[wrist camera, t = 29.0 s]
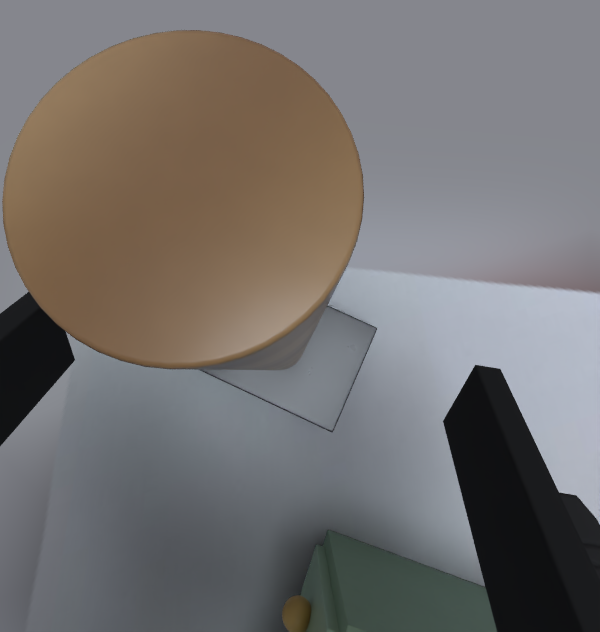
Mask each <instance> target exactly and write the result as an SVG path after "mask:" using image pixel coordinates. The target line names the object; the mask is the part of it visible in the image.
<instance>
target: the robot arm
mask: <svg viewBox="0 0 600 632" xmlns="http://www.w3.org/2000/svg"><path fill="white" fill-rule="evenodd" d="M74 361H75V359H74V356H73V353H72V350H71V347H70V344H69V341H68V338H67V335H66V332H65V330H63V329H62V328H61V327H59V326H58V325H57V324H56V323H55V322H54V321H53V320H52V319H51V318H50V317H49V316H48V315H47V314H46V313H45V312H44V311H43V310H42V309H41V307H40V306H39V305H38V303H37V302H36V301H35V299H34V298H33V296H32V295H31V294H30V292H28V293H27V294H25V295H24V296H23V297H21V298H20V299H19V300H18V301H16V302H15V303H14V304H12V305H11V306H10V307H9V308H7V309H6V310H5V311H3V312H2V313H1V314H0V446H1V444H3V442H4V441H5V440H6V439H7V437H9V435H10V434H11V433H12V432H13V431H14V430H15V429H16V427H17V426H18V425H19V424H20V423H21V422H22V420H23V419H24V418H25V417H26V416H27V415H28V414H29V412H30V411H31V410H32V409H33V408H34V407H35V406H36V404H37V403H38V402H39V401H40V400H41V399H42V397H43V396H44V395H45V394H46V393H47V392H48V391H49V389H50V388H51V387H52V386H53V385H54V383H56V381H57V380H58V379H59V378H60V377H61V376H62V374H63V373H64V372H65V371H66V370H67V369H68V367H69V366H70V365H71V364H72V363H73V362H74ZM443 422H444V426H445V430H446V434H447V438H448V442H449V446H450V450H451V454H452V458H453V462H454V466H455V469H456V473H457V477H458V481H459V485H460V489H461V493H462V497H463V501H464V505H465V509H466V512H467V516H468V520H469V524H470V528H471V532H472V536H473V540H474V544H475V548H476V552H477V556H478V559H479V563H480V567H481V571H482V575H483V579H484V583H485V587H486V591H487V595H488V599H489V602H490V606H491V610H492V614H493V618H494V622H495V626H496V630H497V632H600V525H599V523H598V521H597V519H596V518H595V517H594V515H593V514H592V513H591V512H590V511H589V510H588V508H587V507H586V506H585V505H584V504H583V503H582V501H581V500H580V499H579V498H578V497H577V496H576V495H570V494H564V493H559V492H558V490H557V488H556V486H555V483H554V481H553V479H552V477H551V475H550V473H549V471H548V469H547V467H546V464H545V462H544V460H543V458H542V456H541V454H540V452H539V450H538V448H537V445H536V443H535V441H534V439H533V437H532V435H531V433H530V431H529V429H528V426H527V424H526V422H525V420H524V418H523V416H522V414H521V412H520V410H519V407H518V405H517V403H516V401H515V399H514V397H513V395H512V393H511V391H510V388H509V386H508V384H507V382H506V380H505V378H504V376H503V374H502V372H501V369H497V368H491V367H485V366H479V365H475V367H474V368H473V370H472V372H471V374H470V375H469V377H468V379H467V381H466V382H465V384H464V386H463V387H462V389H461V391H460V393H459V394H458V396H457V398H456V400H455V401H454V403H453V405H452V407H451V408H450V410H449V412H448V414H447V415H446V417H445V419H444V421H443Z"/></svg>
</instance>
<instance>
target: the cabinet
mask: <svg viewBox="0 0 600 632" xmlns="http://www.w3.org/2000/svg"><path fill="white" fill-rule="evenodd" d="M282 619H283V623H284V625H285V627H286V629H287V630H288V632H497V630H496V626H495V622H494V618H493V614H492V610H491V606H490V602H489V599H488V595H487V591H486V588H485V587H482V586H479V585H477V584H474V583H471V582H469V581H466V580H463V579H460V578H458V577H455V576H452V575H450V574H447V573H444V572H441V571H439V570H436V569H433V568H431V567H428V566H425V565H422V564H420V563H417V562H414V561H412V560H409V559H406V558H403V557H401V556H398V555H395V554H393V553H390V552H387V551H384V550H382V549H379V548H376V547H374V546H371V545H368V544H365V543H363V542H360V541H357V540H355V539H352V538H349V537H346V536H344V535H341V534H338V533H336V532H333V531H330V530H328V531H327V534H326V537H325V540H324V543H323V546H320V545H317V544H316V546H315V550H314V553H313V556H312V559H311V562H310V565H309V568H308V572H307V575H306V578H305V581H304V584H303V587H302V591H301V594H300V595H295V596H292V597H290V598H289V599H288V600H287V601H286V603H285V604H284V607H283V611H282Z"/></svg>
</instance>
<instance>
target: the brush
mask: <svg viewBox="0 0 600 632" xmlns="http://www.w3.org/2000/svg"><path fill="white" fill-rule="evenodd" d="M363 201H364V190H363V174H362V169H361V164H360V159H359V154H358V151H357V148H356V145H355V142H354V140H353V137H352V134H351V131H350V129H349V128H348V126H347V124H346V122H345V120H344V118H343V116H342V114H341V112H340V110H339V109H338V108H337V106H336V105H335V103H334V102H333V100H332V99H331V98H330V96H329V95H328V93H327V92H325V90H324V89H323V88H322V87H321V86H320V85H319V84H318V82H317V81H315V79H314V78H312V77H311V76H310V75H309V74H308V73H307V72H306V71H304V70H303V69H302V68H301V67H300V66H298V65H297V64H295V63H294V62H292V61H291V60H289V59H288V58H286V57H285V56H283V55H282V54H280V53H278V52H276V51H274V50H272V49H270V48H268V47H266V46H264V45H262V44H259V43H256V42H253V41H250V40H248V39H244V38H242V37H238V36H233V35H228V34H224V33H219V32H210V31H200V30H188V31H187V30H182V31H169V32H162V33H154V34H150V35H145V36H141V37H137V38H133V39H130V40H128V41H125V42H122V43H119V44H117V45H114V46H111V47H109V48H107V49H105V50H104V51H102V52H100V53H98V54H96V55H94V56H92V57H90V58H89V59H87V60H86V61H84V62H83V63H81V64H80V65H78V66H77V67H75V68H74V69H72V70H71V71H70V72H69V73H68V74H66V75H65V76H64V77H63V78H62V79H60V80H59V81H58V82H57V83H56V84H55V85H54V86H53V87H52V88H51V89H50V90H49V91H48V93H47V94H46V95H45V96H44V97H43V98H42V99H41V100H40V102H39V103H38V105H37V106H36V107H35V109H34V110H33V111H32V113H31V114H30V116H29V117H28V119H27V121H26V122H25V124H24V126H23V128H22V130H21V131H20V133H19V135H18V137H17V140H16V142H15V145H14V148H13V150H12V153H11V155H10V158H9V163H8V167H7V171H6V175H5V180H4V191H3V201H2V202H3V223H4V229H5V234H6V239H7V244H8V248H9V251H10V253H11V256H12V259H13V262H14V265H15V268H16V269H17V271H18V273H19V275H20V277H21V279H22V281H23V283H24V285H25V287H26V288H27V289H28V291H29V292H30V294H31V295H32V296H33V298H34V299H35V301H36V302H37V303H38V305H39V306H40V307H41V309H42V310H43V311H44V312H45V313H46V314H47V315H48V316H49V317H50V318H51V319H52V320H53V321H54V322H55V323H56V324H57V325H58V326H59V327H61V328H62V329H63V330H65V331H66V332H67V333H69V334H70V335H71V336H72V337H74V338H75V339H76V340H78V341H80V342H82V343H83V344H85V345H87V346H89V347H90V348H92V349H94V350H96V351H98V352H100V353H102V354H105V355H108V356H110V357H113V358H115V359H118V360H120V361H124V362H128V363H132V364H136V365H141V366H145V367H154V368H163V369H198V370H201V371H203V372H205V373H207V374H209V375H211V376H213V377H215V378H218V379H220V380H222V381H224V382H226V383H228V384H230V385H232V386H235V387H237V388H239V389H241V390H243V391H245V392H247V393H249V394H252V395H254V396H256V397H258V398H260V399H262V400H264V401H266V402H269V403H271V404H273V405H275V406H277V407H279V408H281V409H283V410H286V411H288V412H290V413H292V414H294V415H296V416H298V417H300V418H303V419H305V420H307V421H309V422H311V423H313V424H315V425H317V426H320V427H322V428H324V429H326V430H328V431H330V432H333V430H334V428H335V426H336V423H337V421H338V419H339V416H340V414H341V412H342V409H343V407H344V405H345V402H346V400H347V398H348V396H349V393H350V391H351V389H352V386H353V384H354V382H355V379H356V377H357V375H358V372H359V370H360V368H361V365H362V363H363V361H364V358H365V356H366V354H367V351H368V349H369V347H370V344H371V342H372V340H373V337H374V335H375V333H376V330H377V328H376V327H374V326H372V325H369V324H367V323H365V322H363V321H360V320H358V319H356V318H354V317H352V316H349V315H347V314H345V313H343V312H341V311H338V310H336V309H334V308H332V307H330V306H327V305H328V303H329V301H330V299H331V297H332V295H333V293H334V291H335V289H336V287H337V285H338V283H339V281H340V279H341V277H342V275H343V273H344V271H345V269H346V267H347V265H348V263H349V261H350V258H351V256H352V253H353V250H354V248H355V245H356V242H357V239H358V234H359V230H360V225H361V221H362V213H363Z"/></svg>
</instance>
